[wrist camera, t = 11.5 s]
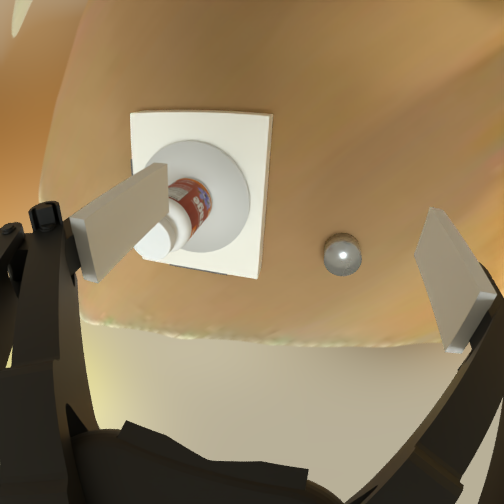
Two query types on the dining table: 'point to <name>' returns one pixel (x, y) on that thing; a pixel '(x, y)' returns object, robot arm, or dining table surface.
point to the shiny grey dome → (342, 254)
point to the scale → (213, 180)
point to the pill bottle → (177, 219)
